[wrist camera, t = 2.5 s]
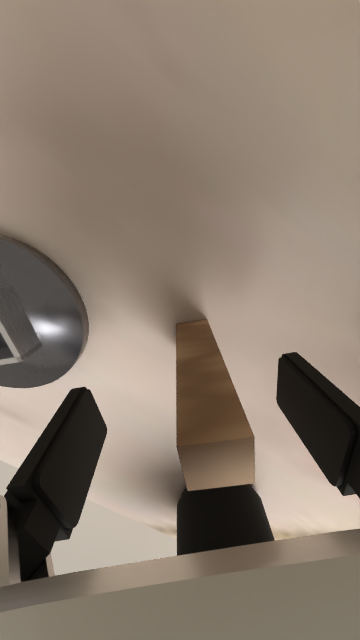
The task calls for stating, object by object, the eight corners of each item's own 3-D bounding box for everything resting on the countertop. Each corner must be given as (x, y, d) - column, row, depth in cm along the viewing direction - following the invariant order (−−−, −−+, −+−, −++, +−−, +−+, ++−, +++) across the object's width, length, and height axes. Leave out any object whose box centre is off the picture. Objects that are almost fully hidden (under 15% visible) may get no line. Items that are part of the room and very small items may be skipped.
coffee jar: (242, 520, 27) (347, 959, 11) (169, 514, 26) (158, 987, 10) (270, 476, 23) (506, 1059, 7) (186, 467, 22) (215, 1125, 6)
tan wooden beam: (206, 319, 15) (254, 436, 6) (209, 346, 16) (254, 483, 7) (176, 323, 15) (176, 446, 6) (181, 350, 16) (187, 490, 7)
